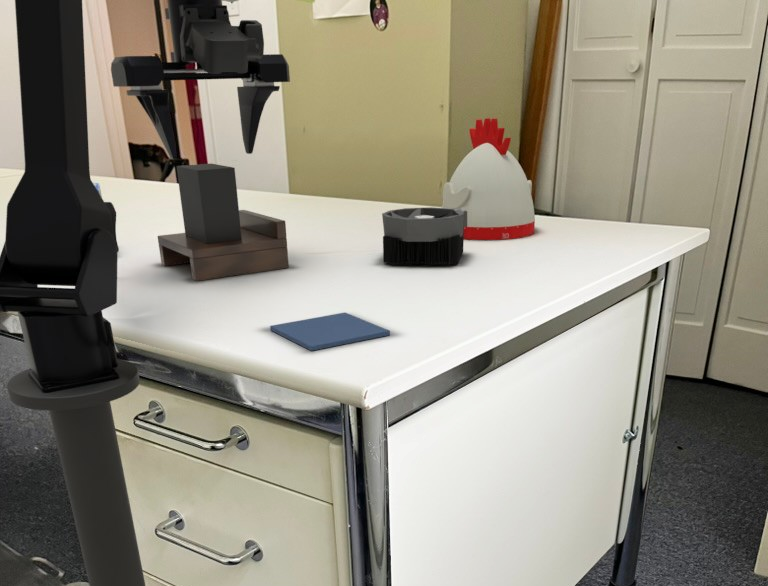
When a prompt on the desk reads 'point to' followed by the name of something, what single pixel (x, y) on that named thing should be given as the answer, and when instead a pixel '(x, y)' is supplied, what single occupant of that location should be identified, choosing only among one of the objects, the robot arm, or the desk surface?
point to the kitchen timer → (491, 188)
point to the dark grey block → (209, 202)
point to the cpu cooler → (423, 235)
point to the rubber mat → (329, 331)
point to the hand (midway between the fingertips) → (212, 156)
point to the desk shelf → (231, 249)
